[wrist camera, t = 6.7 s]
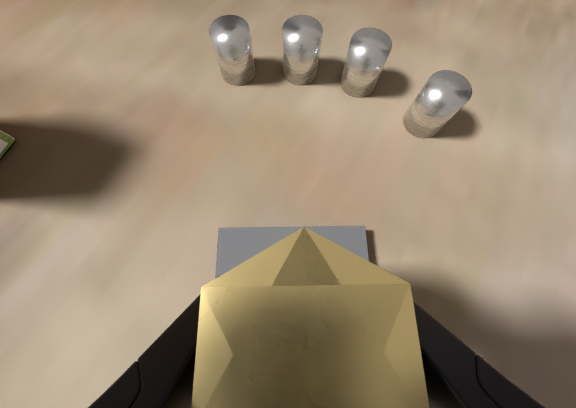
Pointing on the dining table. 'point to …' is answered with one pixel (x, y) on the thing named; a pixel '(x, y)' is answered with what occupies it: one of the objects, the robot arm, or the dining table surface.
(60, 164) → the dining table surface
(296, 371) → the tan faceted block
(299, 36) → the cylinder
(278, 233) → the coaster
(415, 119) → the cylinder
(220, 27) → the cylinder
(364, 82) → the cylinder
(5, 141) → the small white pieces
